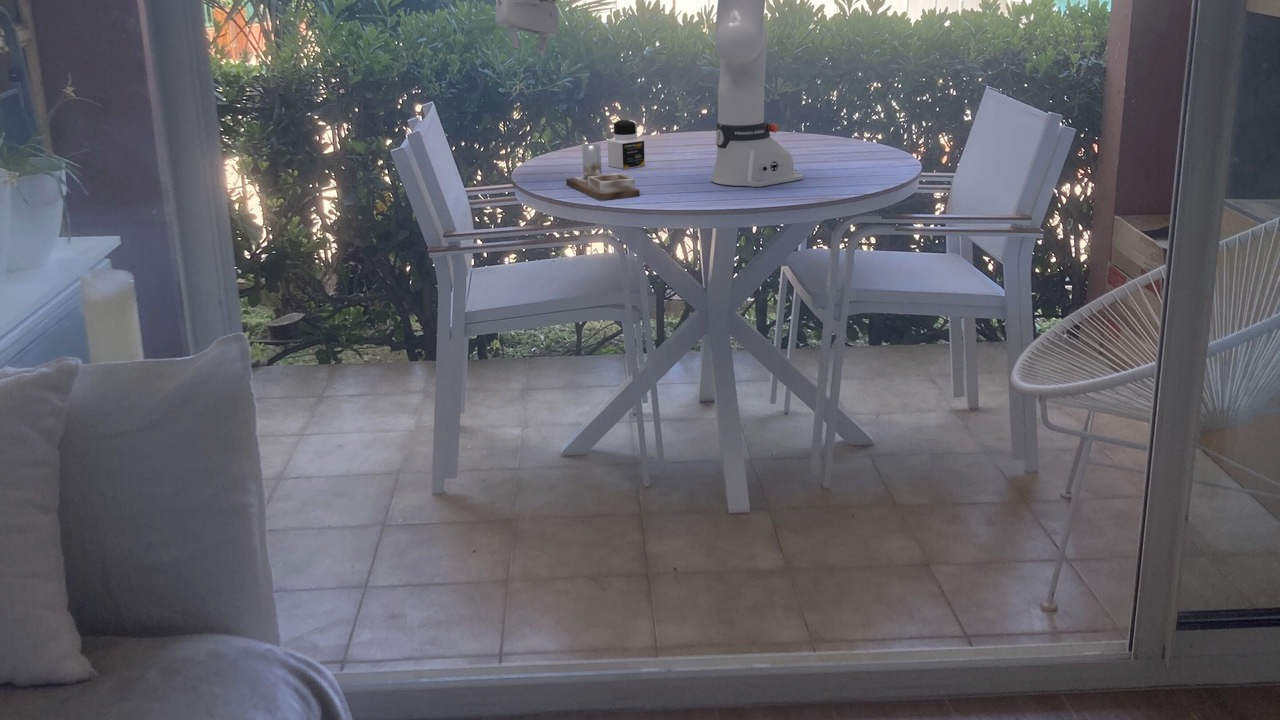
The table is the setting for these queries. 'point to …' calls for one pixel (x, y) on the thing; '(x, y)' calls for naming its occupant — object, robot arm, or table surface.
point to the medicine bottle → (625, 146)
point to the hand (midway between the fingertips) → (529, 49)
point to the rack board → (605, 186)
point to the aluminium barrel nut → (591, 160)
